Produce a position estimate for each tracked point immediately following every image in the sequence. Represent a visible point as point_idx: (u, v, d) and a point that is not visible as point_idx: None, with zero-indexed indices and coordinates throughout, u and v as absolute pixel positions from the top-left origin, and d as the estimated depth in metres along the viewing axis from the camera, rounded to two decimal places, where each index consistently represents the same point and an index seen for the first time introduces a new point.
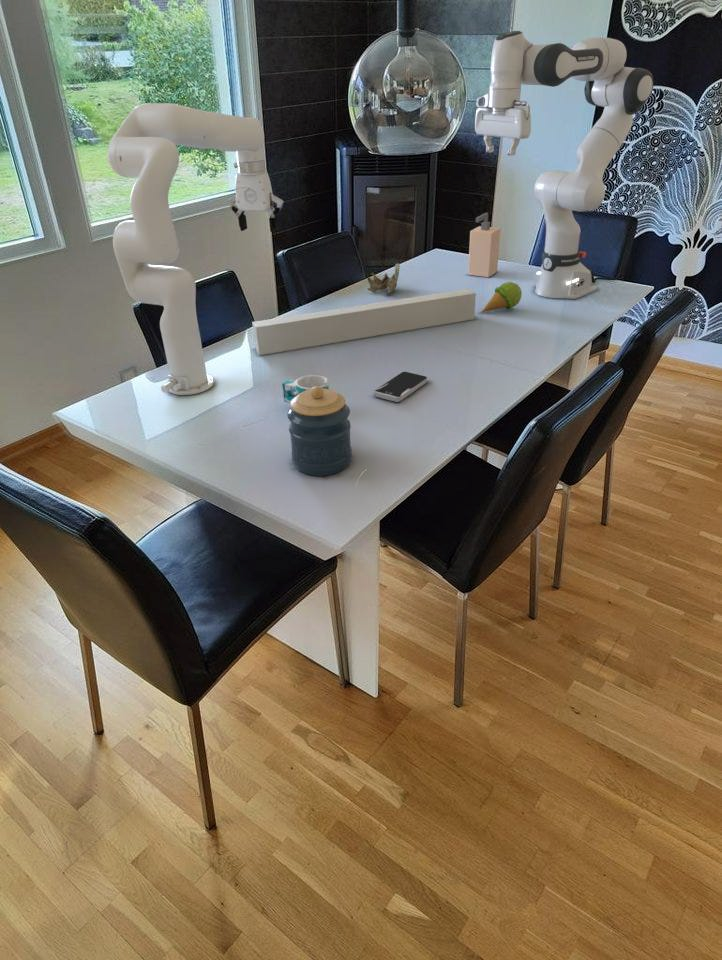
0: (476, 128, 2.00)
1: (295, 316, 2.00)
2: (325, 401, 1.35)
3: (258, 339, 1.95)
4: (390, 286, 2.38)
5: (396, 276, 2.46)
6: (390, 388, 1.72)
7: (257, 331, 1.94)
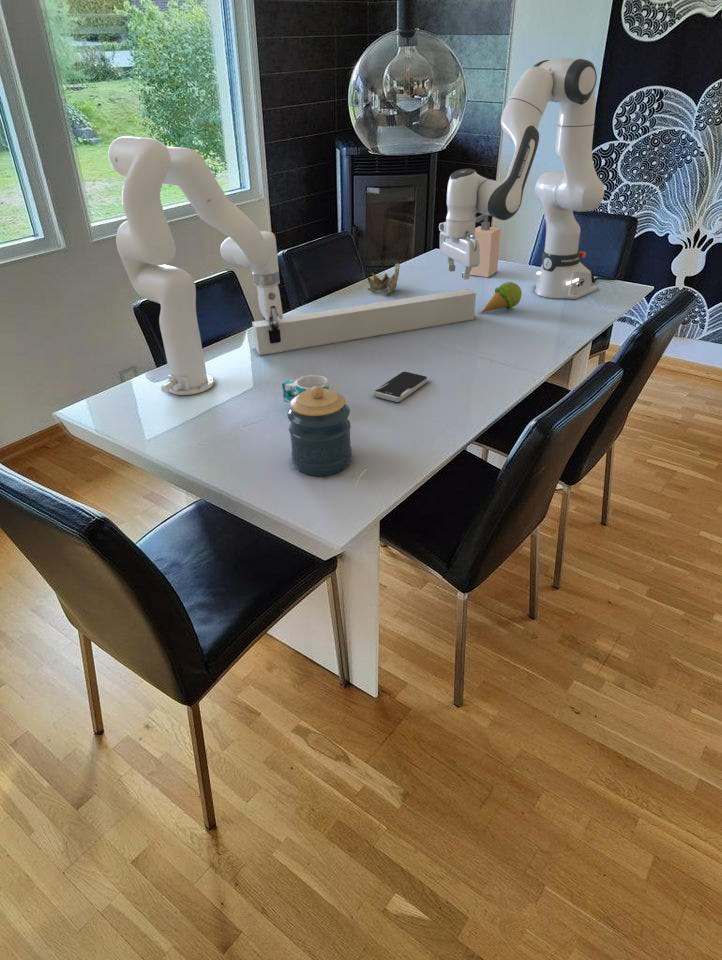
0: (440, 248, 2.13)
1: (295, 316, 2.00)
2: (325, 401, 1.35)
3: (258, 339, 1.95)
4: (390, 286, 2.38)
5: (396, 276, 2.46)
6: (390, 388, 1.72)
7: (257, 331, 1.94)
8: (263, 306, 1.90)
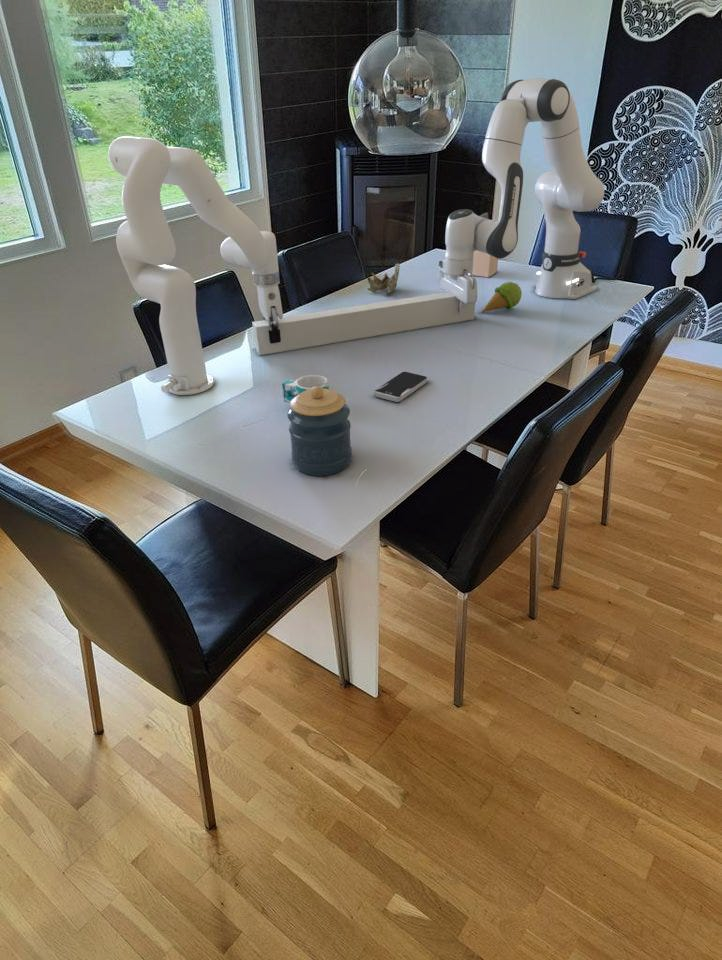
0: (439, 283, 2.19)
1: (295, 316, 2.00)
2: (325, 401, 1.35)
3: (258, 339, 1.95)
4: (390, 286, 2.38)
5: (396, 276, 2.46)
6: (390, 388, 1.72)
7: (257, 331, 1.94)
8: (263, 306, 1.90)
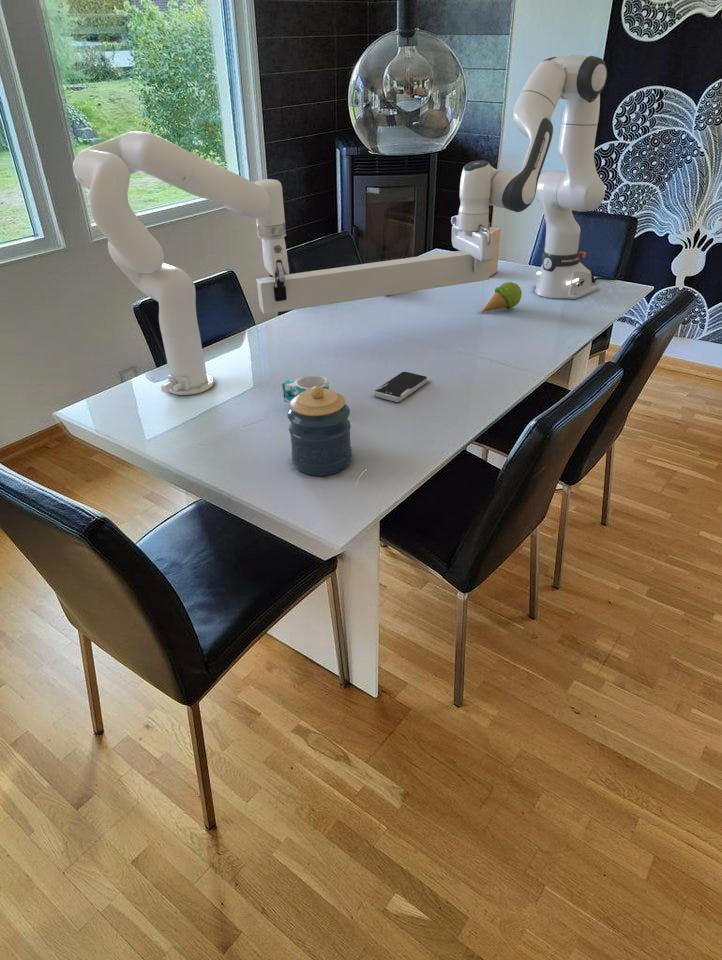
0: (452, 242, 2.09)
1: (302, 273, 1.89)
2: (325, 401, 1.35)
3: (263, 296, 1.85)
4: None
5: None
6: (390, 388, 1.72)
7: (262, 288, 1.83)
8: (268, 260, 1.80)
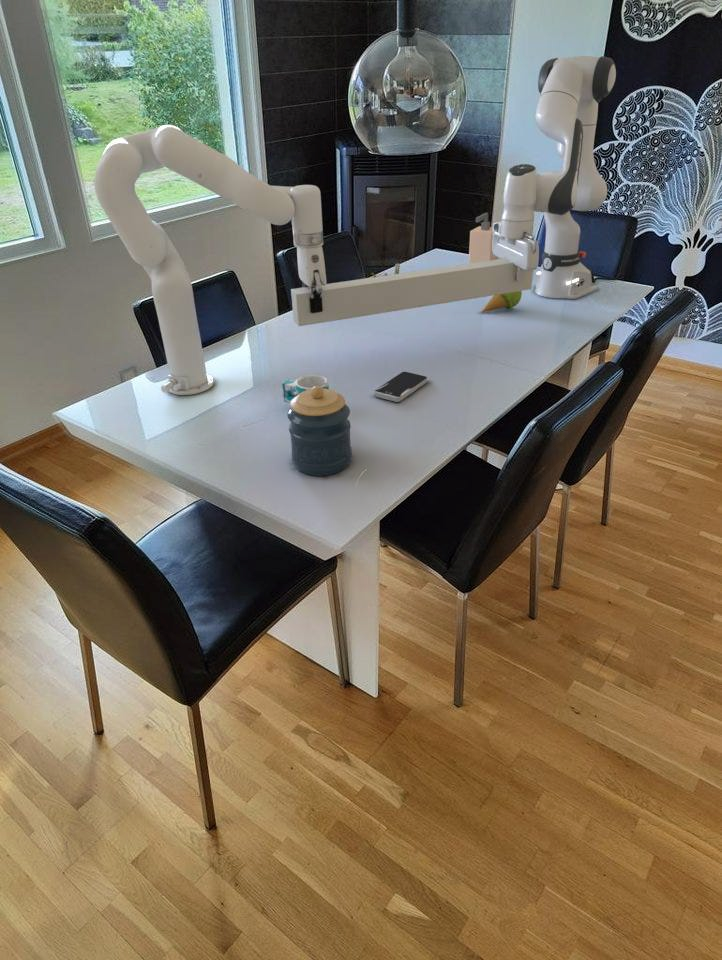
0: (492, 250, 1.99)
1: (338, 283, 1.80)
2: (325, 401, 1.35)
3: (298, 308, 1.75)
4: None
5: None
6: (390, 388, 1.72)
7: (297, 299, 1.74)
8: (305, 270, 1.70)
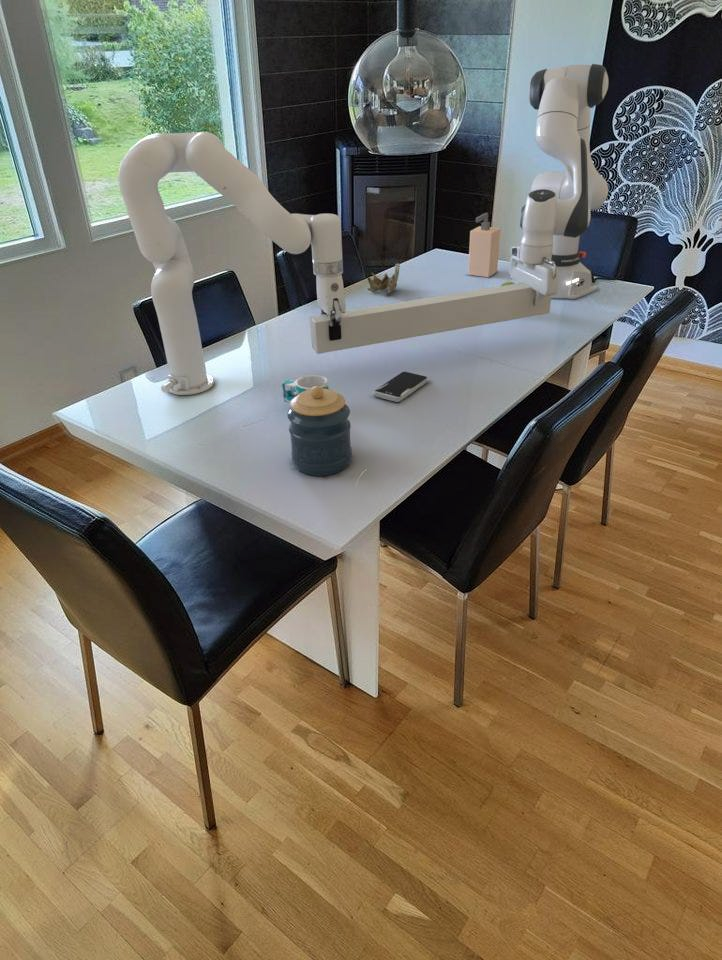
0: (510, 273, 1.98)
1: (357, 310, 1.79)
2: (325, 401, 1.35)
3: (317, 336, 1.74)
4: (390, 286, 2.38)
5: (396, 276, 2.46)
6: (390, 388, 1.72)
7: (316, 327, 1.73)
8: (324, 298, 1.69)
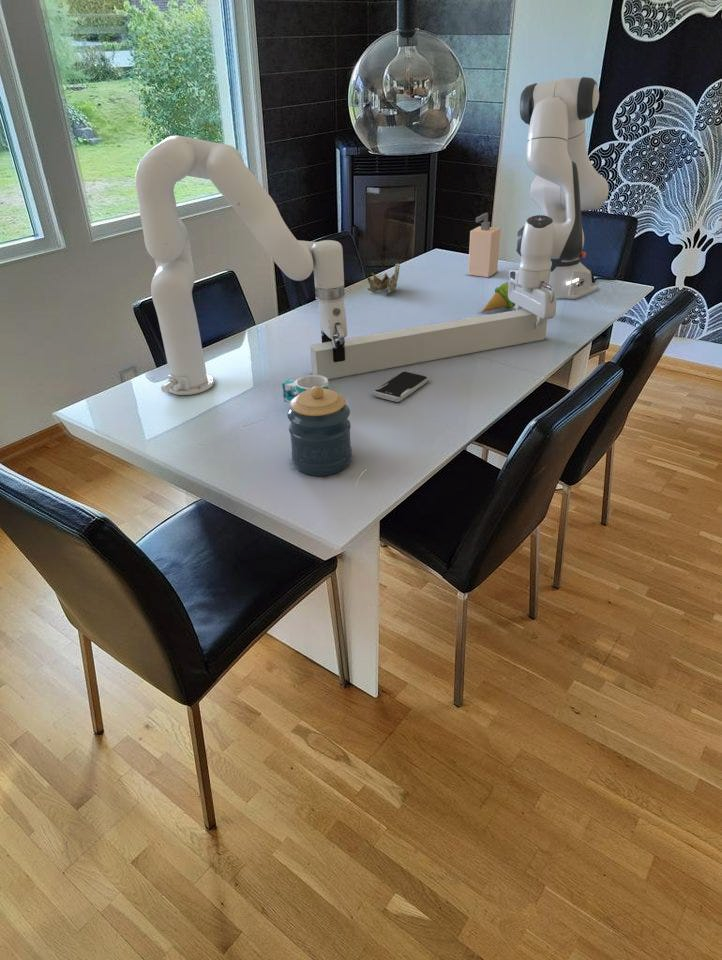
0: (508, 296, 2.02)
1: (356, 338, 1.83)
2: (325, 401, 1.35)
3: (317, 364, 1.78)
4: (390, 286, 2.38)
5: (396, 276, 2.46)
6: (390, 388, 1.72)
7: (317, 355, 1.77)
8: (326, 323, 1.73)
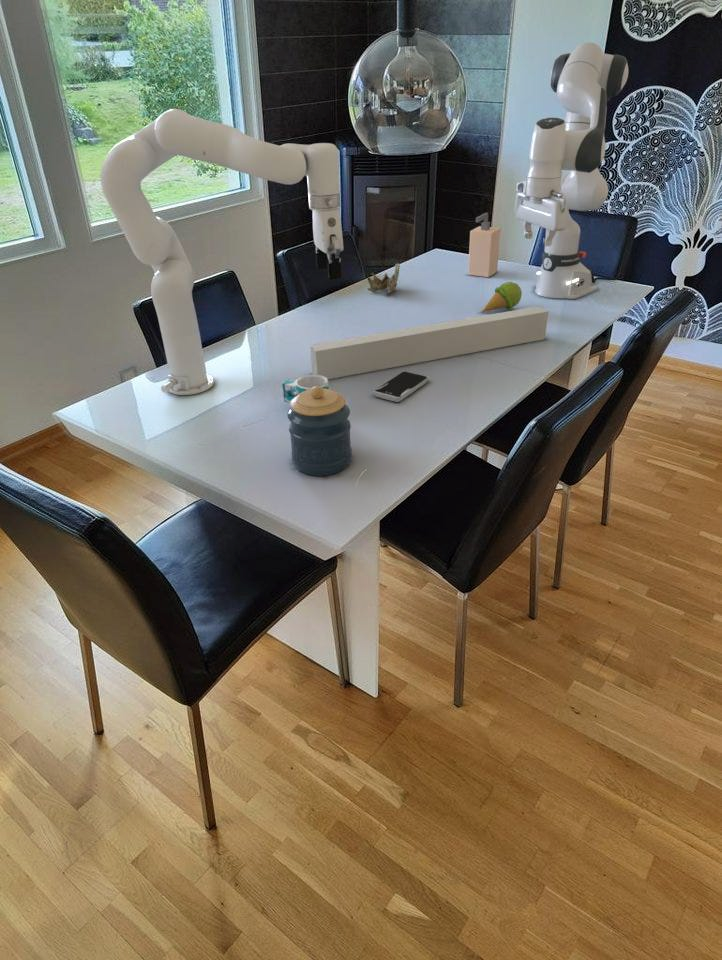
0: (515, 213, 1.89)
1: (356, 338, 1.83)
2: (325, 401, 1.35)
3: (317, 364, 1.78)
4: (390, 286, 2.38)
5: (396, 276, 2.46)
6: (390, 388, 1.72)
7: (317, 355, 1.77)
8: (320, 235, 1.61)
